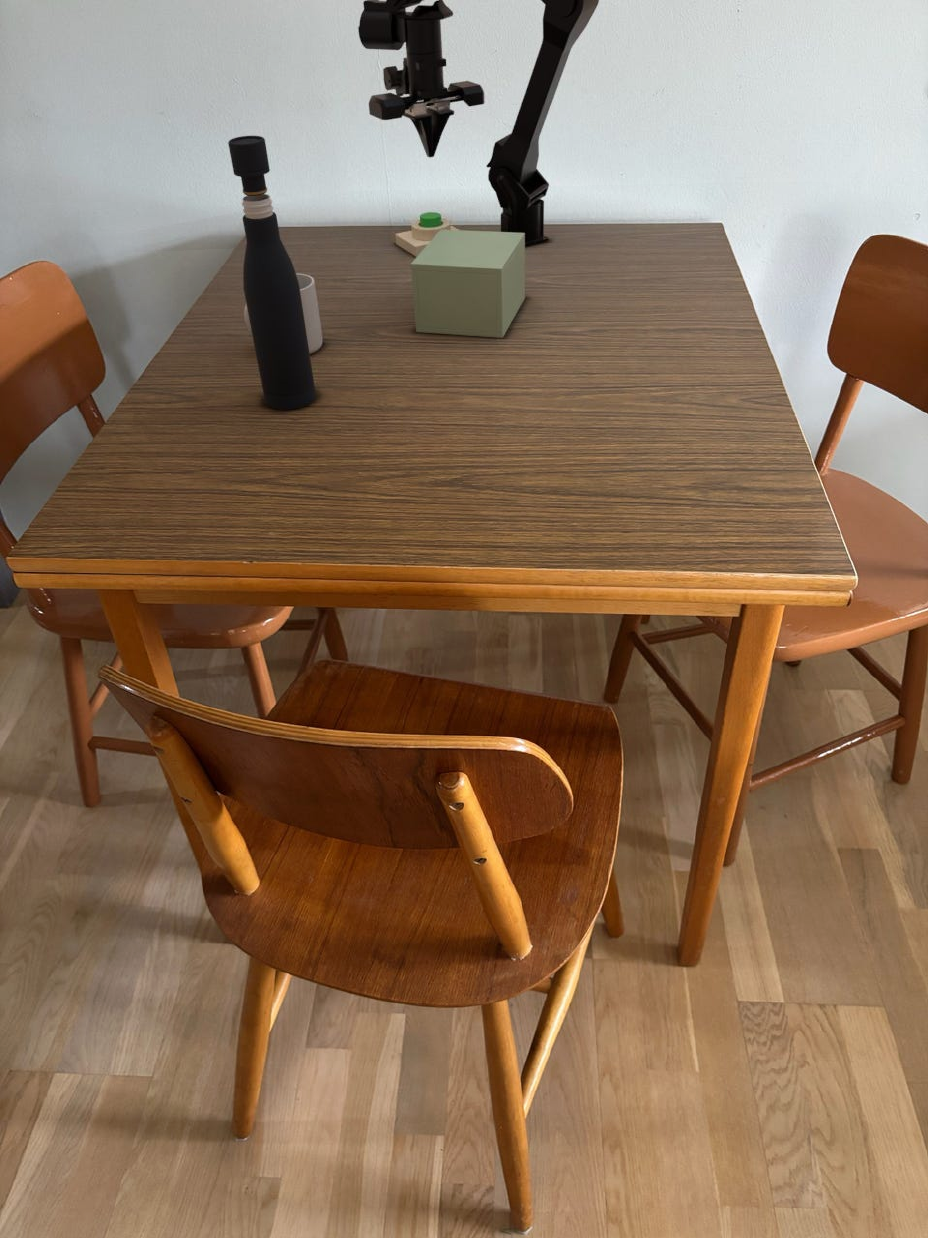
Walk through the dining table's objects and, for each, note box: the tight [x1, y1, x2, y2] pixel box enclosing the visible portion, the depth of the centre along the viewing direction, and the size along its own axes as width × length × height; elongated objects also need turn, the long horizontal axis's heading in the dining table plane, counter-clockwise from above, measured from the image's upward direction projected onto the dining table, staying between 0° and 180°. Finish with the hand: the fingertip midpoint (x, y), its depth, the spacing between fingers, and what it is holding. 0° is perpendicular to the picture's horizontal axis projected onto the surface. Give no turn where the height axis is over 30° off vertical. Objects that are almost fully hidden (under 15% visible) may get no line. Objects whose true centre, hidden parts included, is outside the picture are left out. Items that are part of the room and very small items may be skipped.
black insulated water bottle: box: [227, 135, 317, 411], centre depth 111 cm, size 6×6×30 cm
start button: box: [419, 211, 442, 228], centre depth 161 cm, size 4×4×2 cm
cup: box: [243, 272, 324, 355], centre depth 130 cm, size 7×10×9 cm
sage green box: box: [410, 229, 526, 339], centre depth 136 cm, size 15×13×10 cm
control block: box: [394, 217, 459, 258], centre depth 163 cm, size 10×8×4 cm
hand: (430, 156), depth 162 cm, fingers closed
